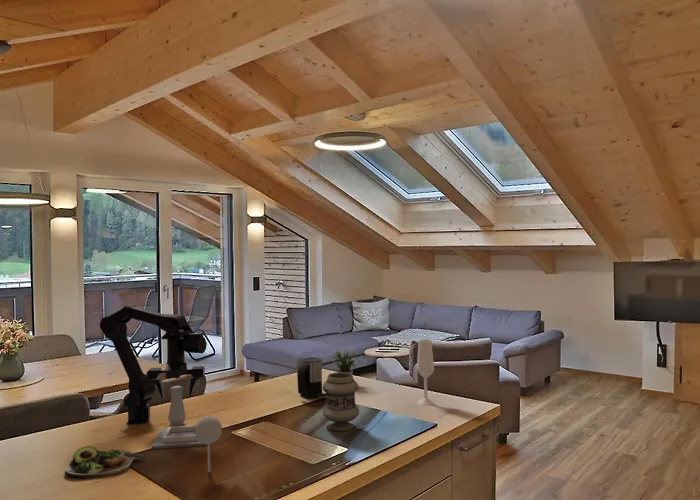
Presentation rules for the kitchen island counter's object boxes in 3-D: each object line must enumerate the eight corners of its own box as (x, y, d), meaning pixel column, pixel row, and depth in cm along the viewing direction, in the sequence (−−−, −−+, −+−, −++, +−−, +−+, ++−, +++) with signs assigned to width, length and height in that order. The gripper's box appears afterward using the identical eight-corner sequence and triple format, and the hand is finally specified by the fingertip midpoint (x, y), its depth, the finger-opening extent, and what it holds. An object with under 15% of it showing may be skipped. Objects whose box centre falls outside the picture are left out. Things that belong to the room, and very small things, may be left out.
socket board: (151, 448, 170) (151, 441, 170) (161, 431, 185) (161, 424, 185) (205, 445, 172) (205, 437, 172) (210, 428, 188) (210, 421, 188)
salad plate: (146, 451, 168) (146, 436, 168) (138, 475, 151) (138, 458, 151) (77, 457, 164) (76, 442, 164) (60, 483, 147) (59, 465, 147)
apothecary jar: (315, 429, 186) (314, 375, 186) (340, 420, 195) (340, 368, 195) (341, 437, 178) (341, 380, 178) (366, 428, 187) (366, 374, 186)
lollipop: (198, 467, 155) (197, 413, 155) (224, 466, 156) (223, 412, 155) (193, 478, 148) (192, 421, 148) (220, 476, 148) (219, 420, 148)
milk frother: (303, 392, 233) (302, 356, 233) (340, 393, 231) (340, 357, 231) (295, 401, 219) (294, 363, 219) (334, 402, 217) (334, 364, 217)
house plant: (322, 388, 238) (322, 350, 238) (329, 380, 252) (328, 344, 252) (355, 389, 236) (355, 351, 236) (360, 381, 250) (360, 345, 249)
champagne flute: (437, 401, 216) (436, 339, 216) (430, 406, 211) (429, 342, 211) (421, 399, 220) (420, 338, 220) (414, 403, 214) (413, 341, 214)
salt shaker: (180, 427, 190) (179, 389, 189) (165, 426, 191) (164, 388, 191) (188, 422, 195) (188, 384, 195) (173, 421, 196) (173, 384, 196)
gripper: (142, 357, 183) (143, 405, 184) (201, 355, 186) (201, 402, 186) (149, 351, 194) (149, 396, 195) (204, 349, 197) (205, 393, 197)
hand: (176, 397), depth 193 cm, fingers open, 9 cm apart
